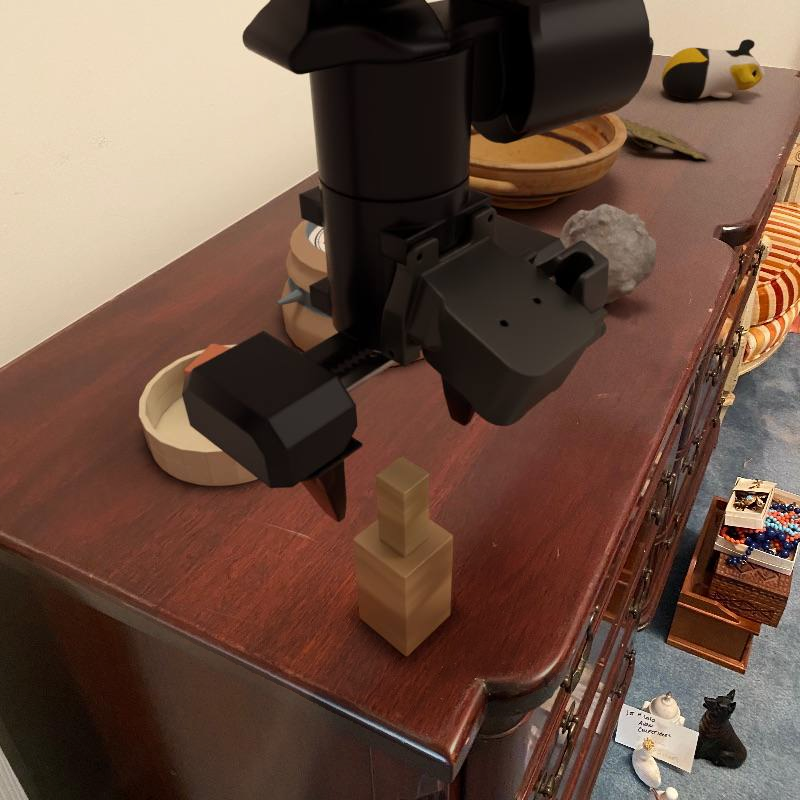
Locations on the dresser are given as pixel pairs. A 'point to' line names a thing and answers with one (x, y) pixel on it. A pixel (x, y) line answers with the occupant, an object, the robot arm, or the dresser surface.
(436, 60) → the robot arm
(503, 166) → the ceramic bowl
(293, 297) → the alarm clock
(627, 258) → the stone
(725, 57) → the figurine
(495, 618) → the dresser surface
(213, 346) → the block
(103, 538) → the dresser surface
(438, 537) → the stand
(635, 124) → the ornament
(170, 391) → the mixing bowl
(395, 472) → the tall wooden peg
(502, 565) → the dresser surface
